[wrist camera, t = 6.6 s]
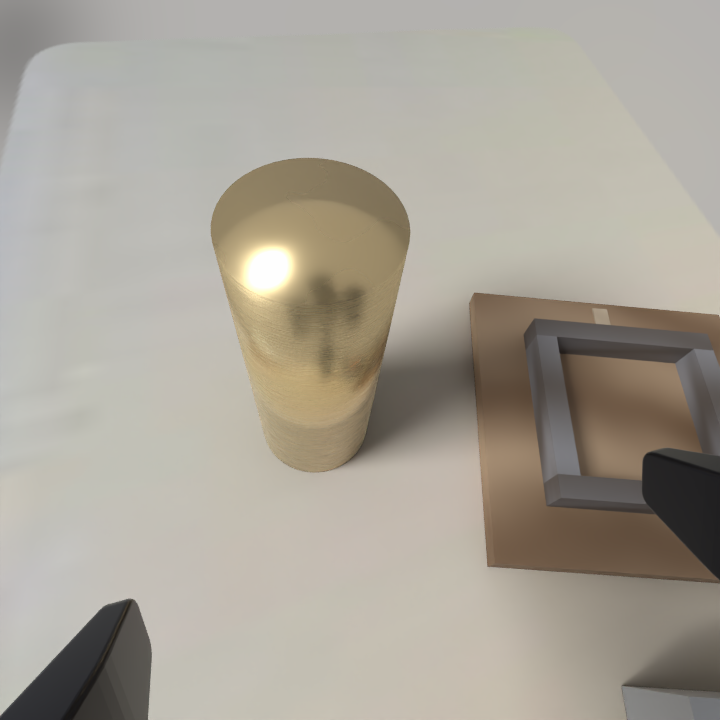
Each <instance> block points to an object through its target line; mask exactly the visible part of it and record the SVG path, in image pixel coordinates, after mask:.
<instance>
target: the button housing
mask: <svg viewBox="0 0 720 720" xmlns="http://www.w3.org/2000/svg"><path fill="white" fill-rule="evenodd" d="M622 692H623V697H624V703H625V709H626V714H627V720H720V692H711V691H695V690H680V689H664V688H648V687H633V686H622Z"/></svg>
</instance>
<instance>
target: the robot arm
mask: <svg viewBox="0 0 720 720" xmlns="http://www.w3.org/2000/svg"><path fill="white" fill-rule="evenodd" d="M642 496H643V498H644V501H645V502H646V504H647V505H648V506H649V508H650V509H651V510H652V511H653V512H654V513H655V514H656V515H657V516H658V517H659V518H660V519H661V520H662V521H663V522H664V524H665V525H666V526H667V527H668V528H669V529H670V530H671V531H672V532H673V533H674V534H675V535H676V536H677V537H678V538H679V540H680V541H681V542H682V543H683V544H684V545H685V546H686V547H687V548H688V549H689V550H690V551H691V552H692V553H693V554H694V556H695V557H696V558H697V559H698V560H699V561H700V562H701V563H702V564H703V565H704V566H705V567H706V568H707V569H708V570H709V571H710V572H711V573H712V574H713V575H714V576H715V577H716V578H717V579H718V580H719V581H720V456H717V455H711V454H705V453H699V452H692V451H686V450H680V449H674V448H661V449H657V450H654V451H650V452H648V453H646V454H645V455H644V457H643V461H642ZM151 660H152V652H151V644H150V639H149V636H148V633H147V630H146V627H145V624H144V622H143V619H142V616H141V613H140V610H139V607H138V604H137V603H136V601H135V600H133V599H126V600H122V601H119V602H115V603H112V604H108V605H106V606H104V607H103V608H102V609H100V610H99V611H98V613H97V614H96V615H95V616H94V617H93V618H92V619H91V620H90V621H89V622H88V623H87V624H86V625H85V626H84V627H83V628H82V630H81V631H80V632H79V633H78V634H77V635H76V636H75V637H74V638H73V639H72V640H71V641H70V642H69V643H68V644H67V646H66V647H65V648H64V649H63V650H62V651H61V652H60V653H59V654H58V655H57V656H56V657H55V658H54V659H53V660H52V661H51V663H50V664H49V665H48V666H47V667H46V668H45V669H44V670H43V671H42V672H41V673H40V674H39V675H38V676H37V677H36V679H35V680H34V681H33V682H32V683H31V684H30V685H29V686H28V687H27V688H26V689H25V690H24V691H23V692H22V693H21V694H20V696H19V697H18V698H17V699H16V700H15V701H14V702H13V703H12V704H11V705H10V706H9V707H8V708H7V709H6V710H5V711H4V713H3V714H2V715H1V716H0V720H148V708H149V692H150V676H151Z"/></svg>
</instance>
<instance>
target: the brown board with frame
mask: <svg viewBox="0 0 720 720" xmlns="http://www.w3.org/2000/svg"><path fill="white" fill-rule="evenodd" d="M469 306H470V320H471V335H472V349H473V363H474V378H475V392H476V407H477V421H478V435H479V450H480V464H481V479H482V493H483V507H484V522H485V536H486V551H487V565H488V567H502V568H516V569H530V570H544V571H557V572H571V573H585V574H599V575H613V576H627V577H641V578H655V579H669V580H683V581H696V582H710V583H720V581H719V580H718V579H717V578H716V577H715V576H714V575H713V574H712V573H711V572H710V571H709V570H708V569H707V568H706V567H705V566H704V565H703V564H702V563H701V562H700V561H699V560H698V559H697V558H696V557H695V556H694V554H693V553H692V552H691V551H690V550H689V549H688V548H687V547H686V546H685V545H684V544H683V543H682V542H681V541H680V540H679V538H678V537H677V536H676V535H675V534H674V533H673V532H672V531H671V530H670V529H669V528H668V527H667V526H666V525H665V524H664V522H663V521H662V520H661V519H660V518H659V517H658V516H657V515H656V514H655V513H654V512H653V511H652V510H651V509H650V508H649V506H648V505H647V504H646V502H645V501H644V498H643V496H642V461H643V457H644V455H645V454H646V453H648V452H650V451H654V450H657V449H661V448H674V449H680V450H686V451H692V452H699V453H705V454H711V455H717V456H720V317H719V315H712V314H701V313H690V312H680V311H669V310H658V309H647V308H636V307H625V306H614V305H603V304H592V303H581V302H570V301H559V300H548V299H537V298H526V297H515V296H505V295H494V294H483V293H474V294H473V296H472V299H471V301H470V303H469Z"/></svg>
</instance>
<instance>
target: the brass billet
mask: <svg viewBox="0 0 720 720" xmlns="http://www.w3.org/2000/svg"><path fill="white" fill-rule="evenodd" d="M211 237H212V243H213V247H214V250H215V254H216V258H217V261H218V265H219V269H220V272H221V276H222V280H223V283H224V287H225V291H226V295H227V298H228V302H229V306H230V309H231V313H232V317H233V320H234V324H235V328H236V331H237V335H238V339H239V343H240V346H241V350H242V354H243V357H244V361H245V365H246V368H247V372H248V376H249V380H250V383H251V387H252V391H253V394H254V398H255V402H256V405H257V409H258V413H259V416H260V420H261V424H262V428H263V431H264V435H265V438H266V441H267V443H268V445H269V447H270V449H271V450H272V452H273V453H274V454H275V456H276V457H277V458H278V459H280V460H281V461H282V462H283V463H285V464H286V465H288V466H290V467H292V468H294V469H297V470H301V471H306V472H324V471H328V470H332V469H334V468H337V467H339V466H341V465H343V464H344V463H346V462H347V461H348V460H350V459H351V458H352V457H353V456H354V455H355V454H356V452H357V451H358V450H359V448H360V447H361V445H362V443H363V441H364V438H365V434H366V430H367V426H368V422H369V417H370V413H371V408H372V404H373V400H374V395H375V391H376V387H377V382H378V378H379V373H380V369H381V365H382V360H383V356H384V351H385V347H386V343H387V338H388V334H389V329H390V325H391V321H392V316H393V312H394V307H395V303H396V299H397V294H398V290H399V285H400V281H401V277H402V272H403V268H404V263H405V259H406V255H407V250H408V246H409V240H410V224H409V220H408V216H407V213H406V211H405V208H404V206H403V204H402V203H401V201H400V200H399V198H398V197H397V196H396V194H395V193H394V192H393V191H392V190H391V189H390V188H389V187H388V186H387V185H386V184H385V183H384V182H382V181H381V180H379V179H378V178H377V177H375V176H373V175H372V174H370V173H368V172H366V171H364V170H362V169H360V168H358V167H355V166H352V165H349V164H346V163H343V162H338V161H334V160H328V159H319V158H297V159H288V160H283V161H278V162H274V163H271V164H267V165H264V166H262V167H259V168H257V169H255V170H253V171H251V172H249V173H247V174H245V175H244V176H242V177H241V178H240V179H238V180H237V181H235V182H234V183H233V184H232V185H231V186H230V187H229V188H228V189H227V190H226V191H225V193H224V194H223V195H222V196H221V198H220V200H219V201H218V203H217V205H216V207H215V210H214V212H213V216H212V221H211Z"/></svg>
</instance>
